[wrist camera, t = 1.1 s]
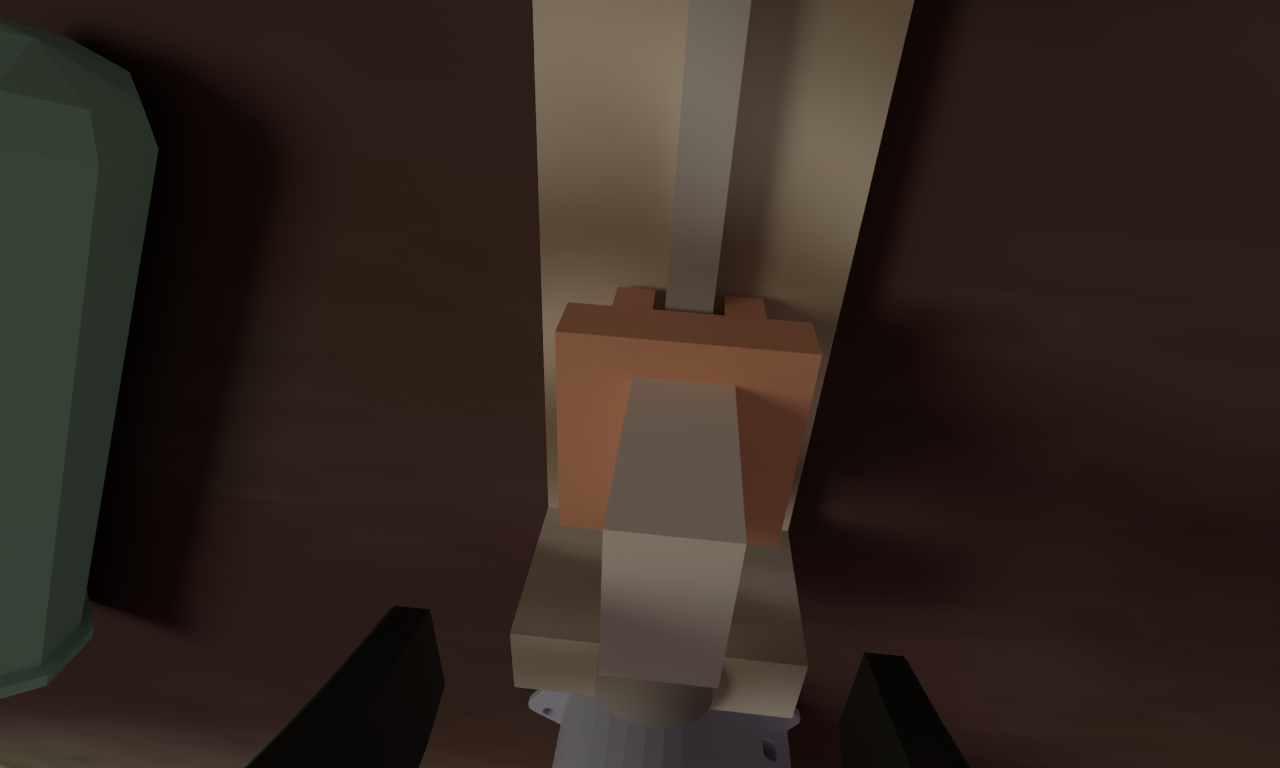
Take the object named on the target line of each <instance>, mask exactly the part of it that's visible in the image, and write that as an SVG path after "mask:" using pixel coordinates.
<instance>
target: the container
mask: <svg viewBox="0 0 1280 768" xmlns="http://www.w3.org/2000/svg"><path fill="white" fill-rule="evenodd" d="M158 150H159V149H158V146H157V144H156V141H155V138H154V135H153V133H152V130H151V127H150V124H149V122H148V119H147V116H146V114H145V111H144V108H143V105H142V103H141V100H140V97H139V95H138V92H137V90H136V87H135V85H134V82H133V80H132V77H131V75H130V72H129V71H127V70H125V69H124V68H122V67H120V66H118V65H116V64H115V63H113V62H111V61H109V60H107V59H106V58H104V57H102V56H100V55H98V54H96V53H95V52H93V51H91V50H89V49H87V48H86V47H84V46H82V45H80V44H78V43H77V42H75V41H73V40H71V39H69V38H68V37H65V36H61V35H58V34H54V33H51V32H47V31H44V30H40V29H37V28H33V27H29V26H26V25H22V24H19V23H15V22H12V21H8V20H4V19H1V18H0V699H1V698H4V697H8V696H12V695H15V694H19V693H22V692H26V691H29V690H33V689H37V688H40V687H44V686H47V685H48V684H49V683H50V682H51V681H52V679H53V678H54V677H55V676H56V675H57V674H58V673H59V672H60V671H61V670H62V669H63V668H64V667H65V666H66V665H67V664H68V663H69V662H70V661H71V660H72V658H73V657H74V656H75V655H76V654H77V653H78V652H79V651H80V650H81V649H82V648H83V647H84V646H85V645H86V644H87V643H88V642H89V641H90V640H91V639H92V635H93V630H94V625H93V620H92V614H91V609H90V603H89V598H88V592H87V583H88V577H89V571H90V565H91V558H92V552H93V546H94V540H95V534H96V528H97V522H98V516H99V510H100V504H101V497H102V491H103V485H104V479H105V473H106V467H107V461H108V455H109V449H110V443H111V436H112V430H113V424H114V418H115V412H116V406H117V400H118V394H119V388H120V382H121V375H122V369H123V363H124V357H125V351H126V345H127V339H128V333H129V327H130V321H131V314H132V308H133V302H134V296H135V290H136V284H137V278H138V272H139V266H140V260H141V253H142V247H143V241H144V235H145V229H146V223H147V217H148V211H149V205H150V199H151V192H152V186H153V180H154V174H155V168H156V162H157V156H158Z"/></svg>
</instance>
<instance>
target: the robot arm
mask: <svg viewBox="0 0 1280 768" xmlns="http://www.w3.org/2000/svg"><path fill="white" fill-rule="evenodd" d="M444 685H445V681H444V676H443V672H442V667H441V662H440V657H439V652H438V647H437V642H436V638H435V633H434V628H433V623H432V618H431V613H430V609H419V608H409V607H399V606H394V607H393V608H391V609H390V610H389V611H388V612H387V613H386V614H385V616H384V617H383V618H382V619H381V620H380V621H379V623H378V624H377V625H376V626H375V627H374V628H373V630H372V631H371V632H370V633H369V634H368V636H367V637H366V638H365V639H364V640H363V641H362V643H361V644H360V645H359V646H358V647H357V648H356V649H355V651H354V652H353V653H352V654H351V655H350V656H349V658H348V659H347V660H346V661H345V662H344V663H343V664H342V665H341V667H340V668H339V669H338V670H337V671H336V672H335V673H334V674H333V676H332V677H331V678H330V679H329V680H328V681H327V682H326V683H325V685H324V686H323V687H322V688H321V689H320V690H319V691H318V692H317V693H316V694H315V695H314V696H313V698H312V699H311V700H310V701H309V702H308V703H307V704H306V705H305V706H304V707H303V708H302V709H301V711H300V712H299V713H298V714H297V715H296V716H295V717H294V718H293V719H292V720H291V721H290V722H289V723H288V725H287V726H286V727H285V728H284V729H283V730H282V731H281V732H280V733H279V734H278V735H277V736H276V737H275V738H274V739H273V740H272V741H271V742H270V743H269V744H268V745H267V746H266V747H265V748H264V749H263V750H262V751H261V752H260V753H259V754H258V755H257V756H256V757H255V758H254V759H253V760H252V761H251V762H250V763H249V764H248V765H247V766H246V767H245V768H419V765H420V763H421V760H422V757H423V755H424V752H425V750H426V747H427V744H428V741H429V737H430V734H431V731H432V727H433V724H434V721H435V717H436V714H437V710H438V706H439V703H440V699H441V696H442V692H443V688H444ZM528 704H529V707H530V708H531V709H532V710H533V711H535V712H537V713H539V714H541V715H543V716H545V717H547V718H549V719H551V720H553V721H555V722H557V723H559V724H561V726H560V731H559V736H558V741H557V746H556V751H555V756H554V761H553V766H552V768H791V761H790V752H789V743H788V734H787V730H789V729H791V728H792V727H794V726H796V725H797V724H798V723H799V722H800V713H799V710H797V709H796V708H795V711H794V714H793V717H792V718H784V717H775V716H766V715H757V714H749V713H740V712H731V711H722V710H714V709H709V710H708V711H707V712H706V713H705V714H704V715H703V716H702V717H700V718H699V719H697V720H695V721H693V722H691V723H688V724H686V725H682V726H677V727H670V728H652V727H644V726H639V725H635V724H632V723H629V722H626V721H624V720H621V719H620V718H618V717H616V716H614V715H613V714H611V713H610V712H608V711H607V710H606V709H605V708H604V707H603V706H602V705H601V703H600V702H599V701H598V699H597V697H596V696H591V695H582V694H573V693H565V692H556V691H547V690H537V691H536V692H534V693H533V694H532V695H531V696H530V699H529V703H528ZM839 729H840V740H841V750H842V760H843V768H970V767H969V765H968V763H967V762H966V760H965V759H964V757H963V755H962V754H961V752H960V751H959V749H958V747H957V746H956V744H955V742H954V741H953V739H952V737H951V736H950V734H949V732H948V731H947V729H946V727H945V726H944V724H943V722H942V721H941V719H940V717H939V716H938V714H937V712H936V710H935V709H934V707H933V705H932V704H931V702H930V700H929V698H928V697H927V695H926V693H925V691H924V690H923V688H922V686H921V684H920V683H919V681H918V679H917V677H916V675H915V674H914V672H913V670H912V668H911V667H910V665H909V663H908V661H907V660H906V659H905V658H904V657H903V656H895V655H885V654H875V653H865V652H864V655H863V658H862V661H861V664H860V666H859V669H858V672H857V675H856V678H855V681H854V684H853V686H852V689H851V692H850V695H849V698H848V701H847V703H846V706H845V709H844V712H843V715H842V718H841V721H840V723H839Z"/></svg>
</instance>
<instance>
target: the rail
mask: <svg viewBox="0 0 1280 768" xmlns="http://www.w3.org/2000/svg"><path fill="white" fill-rule="evenodd" d="M913 4H914V0H533V28H534V60H535V92H536V124H537V155H538V187H539V219H540V251H541V283H542V315H543V347H544V379H545V410H546V442H547V474H548V506H549V507H548V510H547V514H546V517H545V520H544V523H543V527H542V530H541V533H540V537H539V540H538V543H537V546H536V550H535V553H534V556H533V560H532V563H531V566H530V569H529V573H528V576H527V579H526V583H525V586H524V589H523V593H522V596H521V599H520V602H519V606H518V609H517V612H516V616H515V619H514V622H513V625H512V629H511V632H510V639H511V651H512V663H513V674H514V686H515V687H521V688H529V689H538V690H547V691H556V692H565V693H573V694H582V695H591V696H596V697H597V699H598V701H599V702H600V703H601V705H602V706H603V707H604V708H605V709H606V710H607V711H608V712H610V713H611V714H613V715H614V716H616V717H618V718H620V719H621V720H624V721H626V722H629V723H632V724H635V725H639V726H644V727H652V728H670V727H677V726H682V725H686V724H688V723H691V722H693V721H695V720H697V719H699V718H700V717H702V716H703V715H704V714H705V713H706V712H707V711H708V710H709V709H714V710H722V711H731V712H740V713H749V714H757V715H766V716H775V717H784V718H792V717H793V714H794V711H795V707H796V704H797V701H798V698H799V694H800V691H801V688H802V685H803V681H804V678H805V675H806V672H807V668H808V663H807V656H806V649H805V642H804V636H803V629H802V622H801V616H800V609H799V602H798V596H797V589H796V582H795V576H794V569H793V562H792V555H791V549H790V542H789V535H788V528H789V524H790V520H791V516H792V511H793V507H794V503H795V499H796V495H797V490H798V486H799V482H800V478H801V474H802V469H803V465H804V461H805V457H806V453H807V448H808V444H809V440H810V436H811V432H812V427H813V423H814V419H815V415H816V411H817V406H818V402H819V398H820V394H821V390H822V385H823V381H824V377H825V373H826V369H827V365H828V360H829V356H830V352H831V348H832V344H833V339H834V335H835V331H836V327H837V323H838V318H839V314H840V310H841V306H842V302H843V297H844V293H845V289H846V285H847V281H848V276H849V272H850V268H851V264H852V260H853V255H854V251H855V247H856V243H857V239H858V234H859V230H860V226H861V222H862V218H863V213H864V209H865V205H866V201H867V197H868V192H869V188H870V184H871V180H872V176H873V172H874V167H875V163H876V159H877V155H878V151H879V146H880V142H881V138H882V134H883V130H884V125H885V121H886V117H887V113H888V109H889V104H890V100H891V96H892V92H893V88H894V83H895V79H896V75H897V71H898V67H899V62H900V58H901V54H902V50H903V46H904V41H905V37H906V33H907V29H908V25H909V20H910V16H911V12H912V8H913ZM618 287H628V288H640V289H652V290H656V293H655V307H654V309H655V310H667V311H678V312H690V313H702V314H714V315H722V311H723V304H724V296H736V297H747V298H759V299H763V301H764V306H765V312H766V318H767V319H772V320H784V321H796V322H808V323H812V324H813V327H814V330H815V333H816V337H817V340H818V343H819V346H820V349H821V352H822V358H821V362H820V367H819V371H818V375H817V380H816V384H815V388H814V393H813V397H812V401H811V406H810V410H809V414H808V419H807V423H806V427H805V432H804V436H803V440H802V445H801V449H800V453H799V458H798V462H797V466H796V470H795V475H794V479H793V483H792V488H791V492H790V496H789V501H788V505H787V509H786V514H785V518H784V522H783V527H782V531H781V535H780V540H779V544H778V547H768V546H758V545H748V544H746V550H745V555H744V560H743V565H742V570H741V575H740V580H739V586H738V591H737V596H736V601H735V606H734V611H733V616H732V622H731V627H730V632H729V637H728V642H727V647H726V652H725V658H724V663H723V668H722V673H721V678H720V683H719V688H711V687H702V686H693V685H684V684H675V683H666V682H657V681H648V680H639V679H631V678H622V677H613V676H604V675H599V644H600V609H601V575H602V541H603V530H601V529H591V528H581V527H571V526H561V525H559V501H558V451H557V402H556V353H555V330H556V328H557V326H558V324H559V321H560V319H561V317H562V315H563V312H564V310H565V308H566V305H567V303H568V302H572V303H584V304H596V305H608V306H612V305H613V301H614V298H615V294H616V291H617V288H618Z"/></svg>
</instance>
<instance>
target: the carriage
mask: <svg viewBox="0 0 1280 768" xmlns="http://www.w3.org/2000/svg"><path fill="white" fill-rule="evenodd" d="M655 293H656V290H652V289H640V288H628V287H618V288H617V291H616V294H615V298H614V301H613V305H612V306H608V305H596V304H584V303H572V302H568V303H567V305H566V308H565V310H564V312H563V315H562V317H561V319H560V321H559V324H558V326H557V328H556V330H555V353H556V402H557V451H558V501H559V525H561V526H571V527H581V528H591V529H601V530H603V541H602V575H601V609H600V644H599V675H604V676H613V677H622V678H631V679H639V680H648V681H657V682H666V683H675V684H684V685H693V686H702V687H711V688H719V683H720V678H721V673H722V668H723V663H724V658H725V652H726V647H727V642H728V637H729V632H730V627H731V622H732V616H733V611H734V606H735V601H736V596H737V591H738V586H739V580H740V575H741V570H742V565H743V560H744V555H745V550H746V544H748V545H758V546H768V547H778V544H779V540H780V535H781V531H782V527H783V522H784V518H785V514H786V509H787V505H788V501H789V496H790V492H791V488H792V483H793V479H794V475H795V470H796V466H797V462H798V458H799V453H800V449H801V445H802V440H803V436H804V432H805V427H806V423H807V419H808V414H809V410H810V406H811V401H812V397H813V393H814V388H815V384H816V380H817V375H818V371H819V367H820V362H821V358H822V352H821V349H820V346H819V343H818V340H817V337H816V333H815V330H814V327H813V324H812V323H808V322H796V321H784V320H772V319H767V318H766V312H765V306H764V301H763V299H759V298H747V297H736V296H724V304H723V311H722V315H714V314H702V313H690V312H678V311H667V310H655V309H654V307H655Z"/></svg>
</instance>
